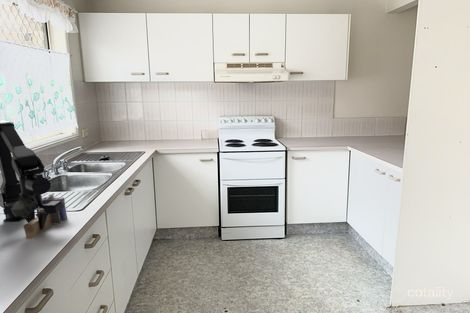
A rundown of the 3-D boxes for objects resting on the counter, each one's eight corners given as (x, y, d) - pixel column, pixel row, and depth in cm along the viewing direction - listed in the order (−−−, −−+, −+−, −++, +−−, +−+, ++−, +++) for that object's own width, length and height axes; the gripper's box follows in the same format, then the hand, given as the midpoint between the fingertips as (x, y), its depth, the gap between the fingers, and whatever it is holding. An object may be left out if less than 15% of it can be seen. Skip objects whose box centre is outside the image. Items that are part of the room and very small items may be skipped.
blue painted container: (68, 217, 129) (64, 192, 126) (64, 220, 126) (60, 195, 123) (45, 218, 129) (41, 193, 126) (41, 221, 126) (36, 196, 123)
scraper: (41, 238, 112) (38, 222, 110) (18, 238, 112) (15, 223, 110) (61, 222, 124) (58, 208, 123) (40, 223, 124) (38, 208, 123)
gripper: (-13, 197, 105) (-4, 240, 108) (43, 195, 105) (50, 239, 108) (10, 186, 116) (18, 226, 119) (61, 185, 116) (67, 225, 119)
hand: (38, 229), depth 116 cm, fingers open, 3 cm apart
